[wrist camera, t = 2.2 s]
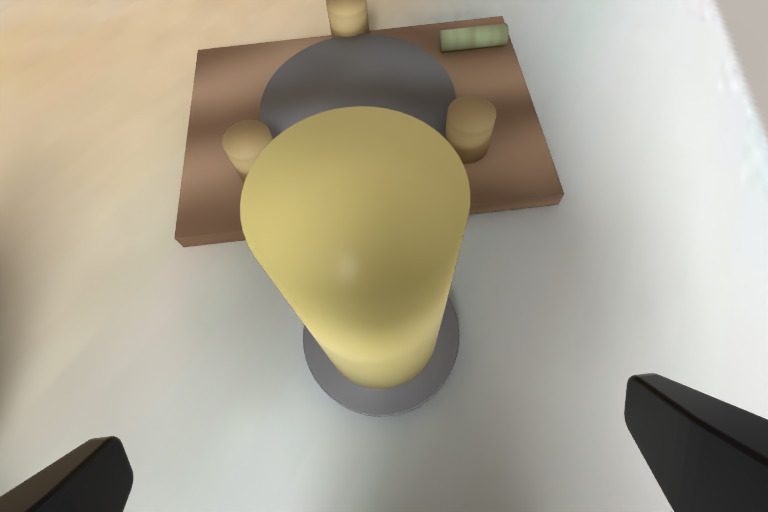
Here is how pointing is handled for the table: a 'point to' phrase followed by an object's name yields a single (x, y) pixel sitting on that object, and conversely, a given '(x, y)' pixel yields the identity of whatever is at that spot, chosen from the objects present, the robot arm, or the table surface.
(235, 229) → the board
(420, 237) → the yellow pillar candle
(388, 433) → the table surface
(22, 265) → the table surface
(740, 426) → the robot arm
